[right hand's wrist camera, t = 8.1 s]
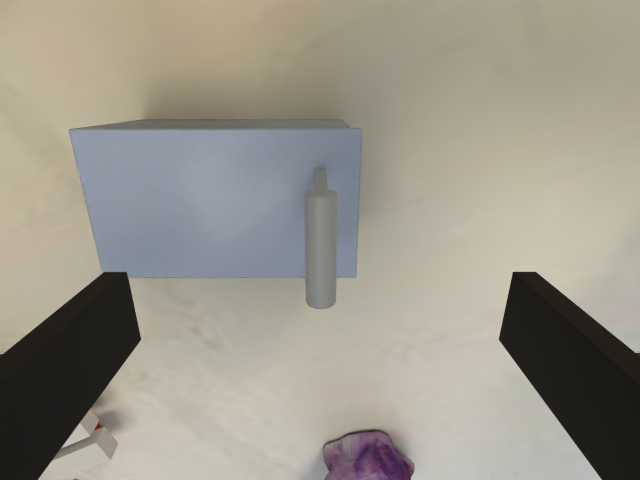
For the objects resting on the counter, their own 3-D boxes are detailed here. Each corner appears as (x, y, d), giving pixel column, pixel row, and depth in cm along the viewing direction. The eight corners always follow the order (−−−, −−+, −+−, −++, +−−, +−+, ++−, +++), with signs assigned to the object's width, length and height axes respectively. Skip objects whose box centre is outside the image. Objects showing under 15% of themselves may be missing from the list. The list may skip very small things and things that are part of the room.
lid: (360, 127, 23) (382, 144, 15) (354, 271, 27) (370, 346, 19) (78, 127, 23) (-50, 144, 15) (111, 271, 27) (21, 346, 19)
